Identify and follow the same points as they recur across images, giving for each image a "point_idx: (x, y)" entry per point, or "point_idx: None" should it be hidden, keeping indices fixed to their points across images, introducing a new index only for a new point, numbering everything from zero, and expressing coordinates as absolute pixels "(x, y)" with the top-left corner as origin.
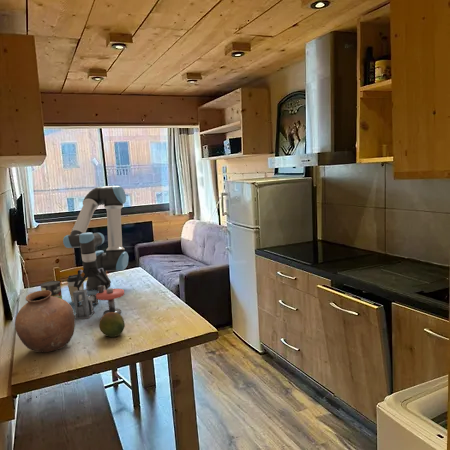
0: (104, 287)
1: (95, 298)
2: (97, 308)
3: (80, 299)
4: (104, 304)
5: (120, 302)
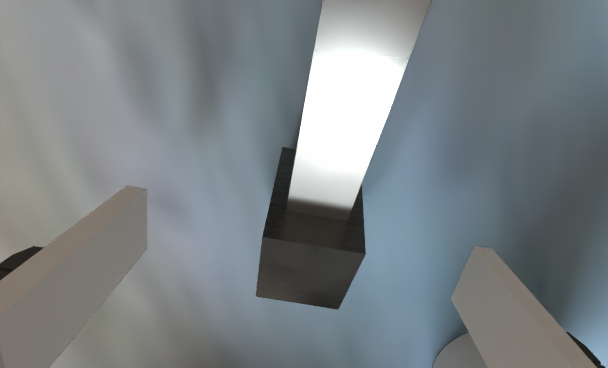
0: (2, 288)
1: (279, 191)
2: (249, 13)
3: (469, 351)
4: (193, 145)
5: (13, 143)
